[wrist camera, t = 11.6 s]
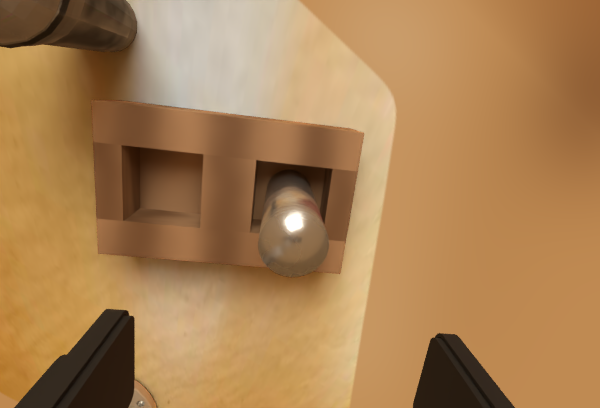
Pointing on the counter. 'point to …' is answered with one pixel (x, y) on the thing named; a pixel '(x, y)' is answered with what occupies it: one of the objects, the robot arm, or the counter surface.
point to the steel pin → (291, 226)
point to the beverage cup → (68, 24)
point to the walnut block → (210, 180)
